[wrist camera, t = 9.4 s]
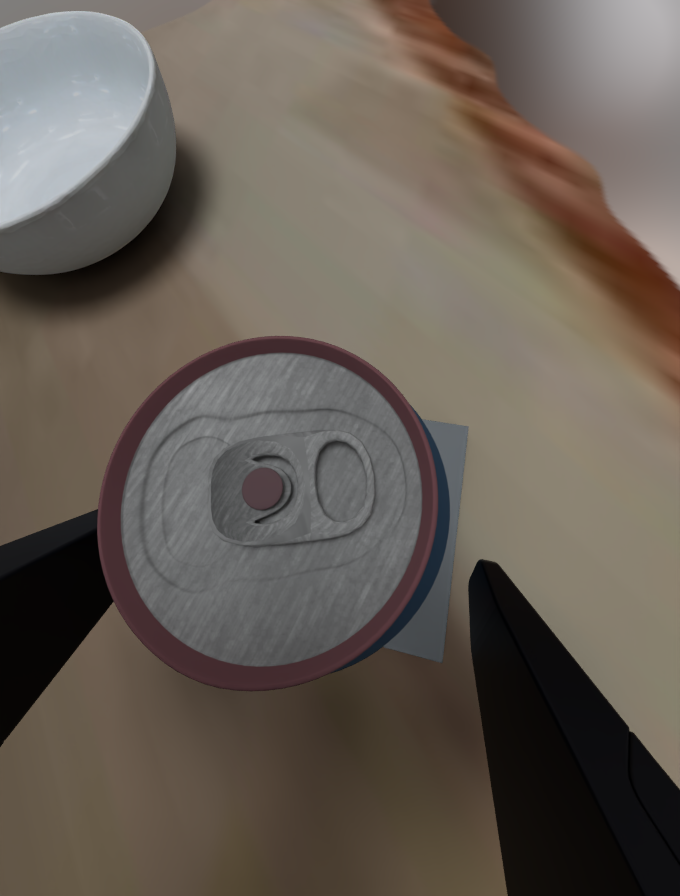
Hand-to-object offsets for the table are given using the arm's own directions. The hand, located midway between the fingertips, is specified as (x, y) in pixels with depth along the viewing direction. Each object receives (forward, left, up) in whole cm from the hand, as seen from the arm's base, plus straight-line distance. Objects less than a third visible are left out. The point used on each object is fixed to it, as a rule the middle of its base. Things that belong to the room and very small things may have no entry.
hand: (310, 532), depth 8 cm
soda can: (+1, +1, -8) cm, 8 cm away
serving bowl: (+10, +33, -9) cm, 36 cm away
